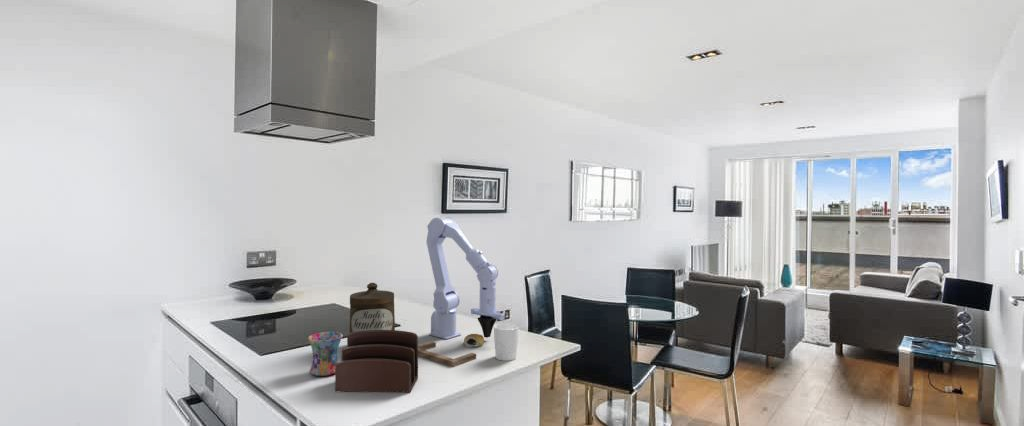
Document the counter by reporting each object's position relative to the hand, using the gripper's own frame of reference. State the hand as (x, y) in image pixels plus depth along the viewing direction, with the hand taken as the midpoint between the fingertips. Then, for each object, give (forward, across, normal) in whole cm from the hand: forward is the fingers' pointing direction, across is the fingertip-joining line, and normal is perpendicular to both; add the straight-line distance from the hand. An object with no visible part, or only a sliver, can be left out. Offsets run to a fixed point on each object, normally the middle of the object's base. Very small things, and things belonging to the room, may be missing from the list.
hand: (487, 336), depth 169 cm
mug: (+2, +15, +53) cm, 55 cm away
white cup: (+2, -17, +10) cm, 20 cm away
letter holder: (+2, -5, +50) cm, 50 cm away
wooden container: (+2, +25, +31) cm, 40 cm away
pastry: (+2, +1, +6) cm, 6 cm away
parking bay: (+1, 0, +22) cm, 22 cm away
